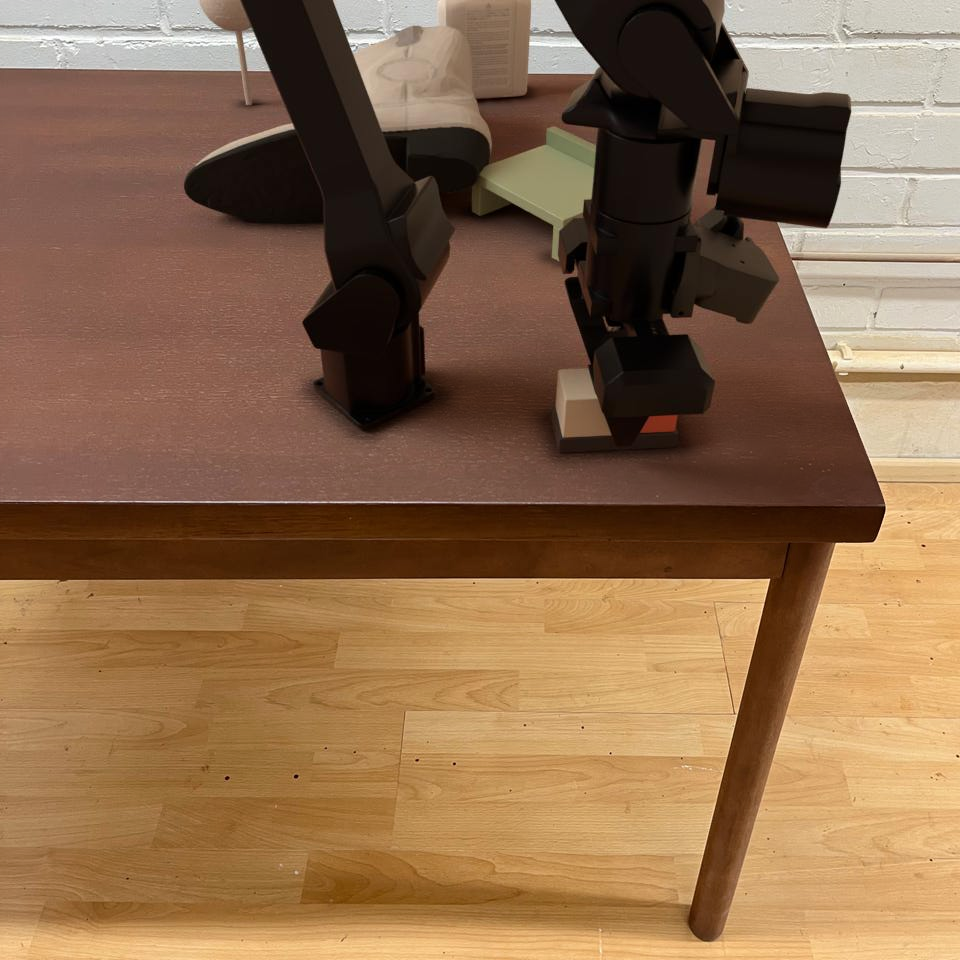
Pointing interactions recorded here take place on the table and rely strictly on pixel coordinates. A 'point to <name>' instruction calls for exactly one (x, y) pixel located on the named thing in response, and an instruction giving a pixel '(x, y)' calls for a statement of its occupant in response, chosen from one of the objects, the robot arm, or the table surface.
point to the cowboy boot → (403, 120)
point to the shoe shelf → (541, 181)
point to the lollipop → (231, 29)
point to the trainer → (597, 419)
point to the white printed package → (493, 42)
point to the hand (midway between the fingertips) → (614, 415)
